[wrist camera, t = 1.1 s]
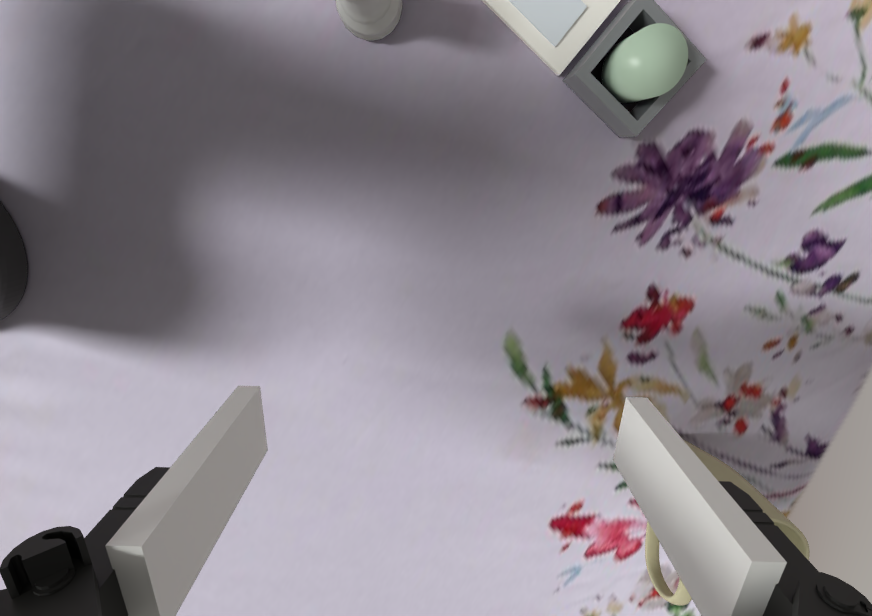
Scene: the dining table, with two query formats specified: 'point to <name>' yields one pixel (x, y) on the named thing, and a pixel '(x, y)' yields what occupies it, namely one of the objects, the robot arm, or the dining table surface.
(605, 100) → the button housing
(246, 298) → the dining table surface
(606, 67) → the button
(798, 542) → the mug
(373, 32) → the rook chess piece
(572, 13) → the cream square board
